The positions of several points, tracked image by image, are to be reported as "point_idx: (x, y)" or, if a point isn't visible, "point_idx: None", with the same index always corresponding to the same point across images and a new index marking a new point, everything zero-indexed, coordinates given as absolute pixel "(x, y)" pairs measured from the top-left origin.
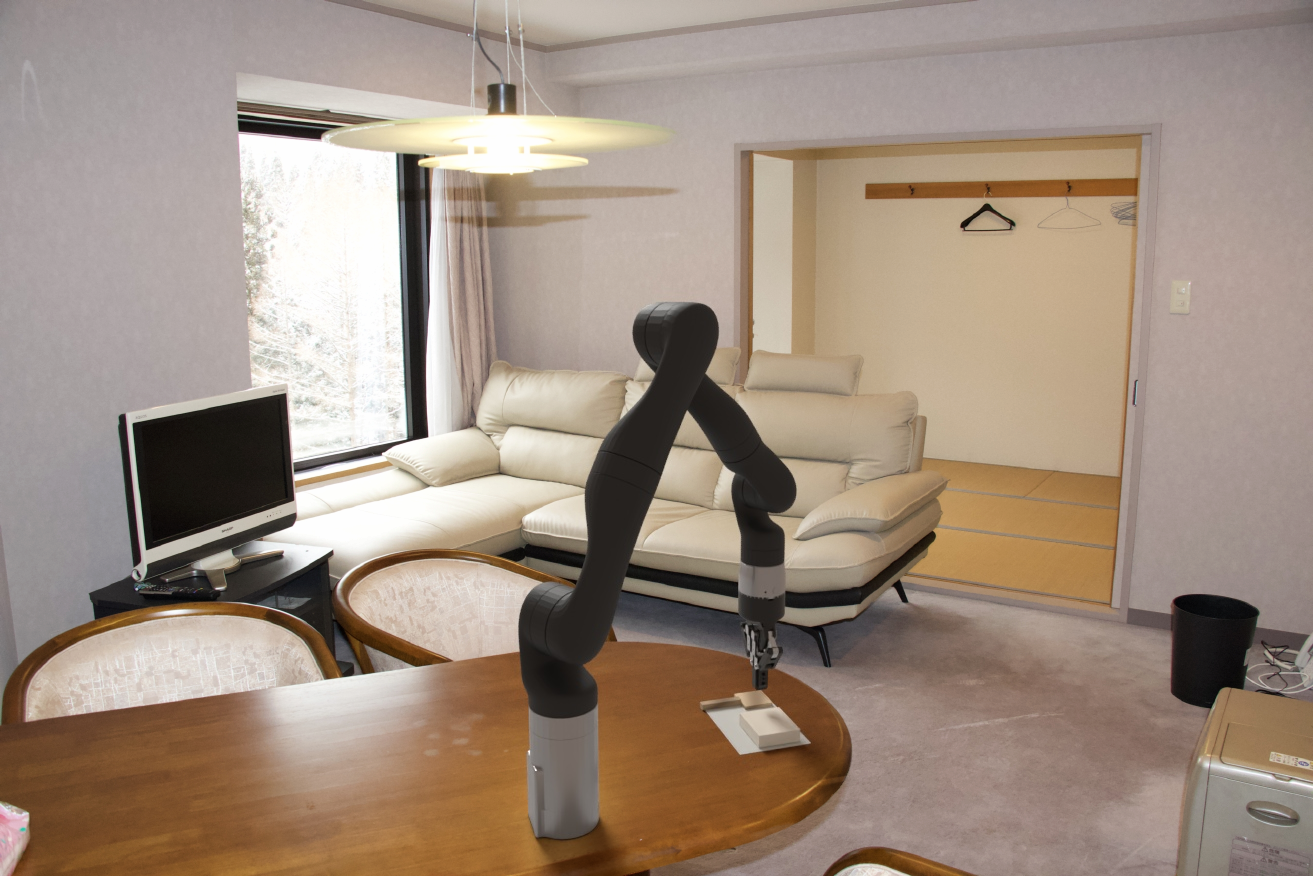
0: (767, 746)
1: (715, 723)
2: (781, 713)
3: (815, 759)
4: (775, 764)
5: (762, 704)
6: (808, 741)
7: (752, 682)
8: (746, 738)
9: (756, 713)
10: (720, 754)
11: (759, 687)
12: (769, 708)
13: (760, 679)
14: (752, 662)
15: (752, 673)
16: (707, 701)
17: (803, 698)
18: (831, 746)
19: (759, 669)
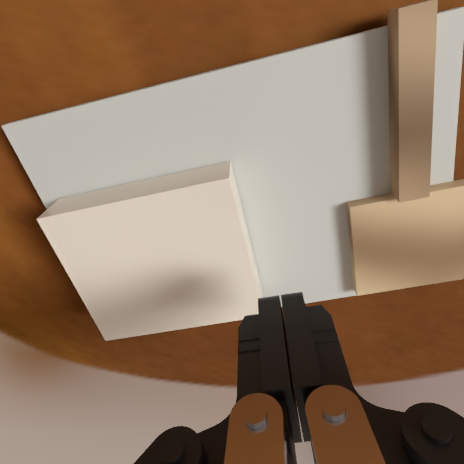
0: None
1: (252, 61)
2: (214, 315)
3: (61, 320)
4: (10, 225)
5: (353, 264)
6: None
7: (298, 305)
8: (126, 169)
9: (219, 241)
10: (36, 49)
11: (244, 322)
12: (257, 288)
13: (239, 361)
14: (315, 413)
15: (310, 343)
16: (428, 44)
17: (399, 360)
18: (131, 361)
19: (182, 430)
